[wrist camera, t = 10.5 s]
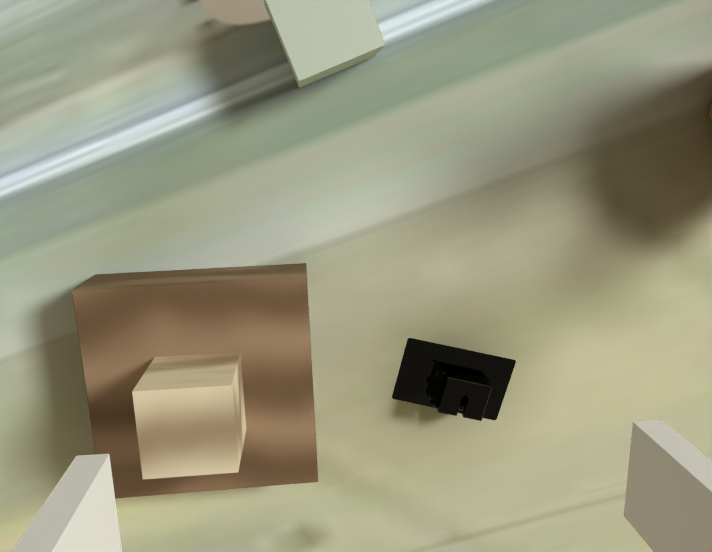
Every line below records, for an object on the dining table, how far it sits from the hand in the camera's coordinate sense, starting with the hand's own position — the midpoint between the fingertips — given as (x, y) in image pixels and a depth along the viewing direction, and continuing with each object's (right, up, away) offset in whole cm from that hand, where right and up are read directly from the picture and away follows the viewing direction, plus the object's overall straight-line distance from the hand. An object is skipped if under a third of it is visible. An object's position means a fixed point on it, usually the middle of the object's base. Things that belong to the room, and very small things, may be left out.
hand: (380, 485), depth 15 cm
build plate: (+7, -3, +37) cm, 37 cm away
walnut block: (-12, -2, +34) cm, 36 cm away
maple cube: (-12, -3, +29) cm, 31 cm away
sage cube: (-3, +23, +29) cm, 37 cm away
